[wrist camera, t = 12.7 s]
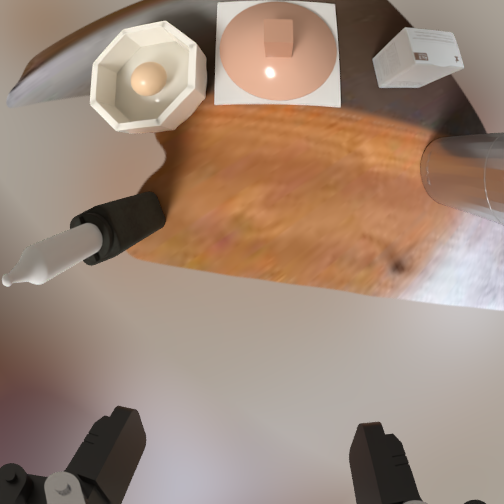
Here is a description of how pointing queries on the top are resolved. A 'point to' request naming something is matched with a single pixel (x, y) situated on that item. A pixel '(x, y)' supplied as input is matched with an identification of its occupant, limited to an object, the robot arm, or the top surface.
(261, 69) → the lid
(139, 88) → the ball
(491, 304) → the top surface
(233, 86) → the mat
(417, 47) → the skincare box
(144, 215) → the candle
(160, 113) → the bowl
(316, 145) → the top surface
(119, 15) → the top surface
